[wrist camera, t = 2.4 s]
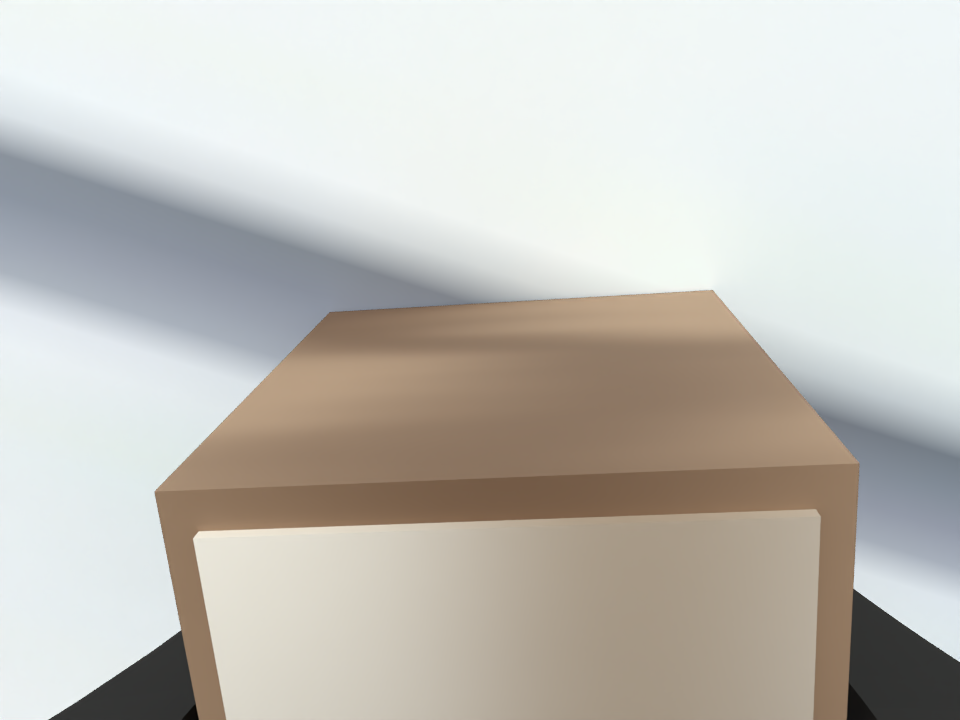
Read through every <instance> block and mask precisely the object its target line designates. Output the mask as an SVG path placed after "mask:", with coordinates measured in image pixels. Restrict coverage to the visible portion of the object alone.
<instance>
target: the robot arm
mask: <svg viewBox="0 0 960 720" xmlns="http://www.w3.org/2000/svg"><path fill="white" fill-rule="evenodd" d="M49 720H199V718H198V712H197V707H196V702H195V697H194V692H193V687H192V682H191V677H190V671H189V666H188V661H187V656H186V651H185V646H184V641H183V636H182V630H181V631H180V632H178V633H177V634H176V635H174V636H173V637H171V638H170V639H169V640H167V641H166V642H165V643H163V644H162V645H161V646H159V647H158V648H156V649H155V650H154V651H152V652H151V653H149V654H148V655H146V656H145V657H143V658H142V659H140V660H139V661H137V662H136V663H134V664H133V665H131V666H130V667H128V668H127V669H125V670H124V671H122V672H121V673H119V674H118V675H116V676H115V677H113V678H112V679H110V680H109V681H107V682H106V683H104V684H103V685H101V686H100V687H99V688H97V689H96V690H94V691H93V692H91V693H90V694H88V695H87V696H85V697H84V698H82V699H81V700H79V701H78V702H76V703H75V704H73V705H71V706H70V707H68V708H67V709H65V710H63V711H62V712H60V713H59V714H57V715H55V716H54V717H52V718H50V719H49ZM847 720H960V662H959V661H957V660H956V659H954V658H953V657H951V656H949V655H948V654H946V653H945V652H943V651H942V650H940V649H939V648H937V647H936V646H934V645H933V644H931V643H930V642H928V641H927V640H925V639H924V638H922V637H921V636H919V635H918V634H916V633H915V632H913V631H912V630H910V629H909V628H908V627H906V626H905V625H903V624H902V623H900V622H899V621H898V620H896V619H895V618H893V617H892V616H890V615H889V614H888V613H886V612H885V611H883V610H882V609H881V608H879V607H878V606H876V605H875V604H874V603H872V602H871V601H869V600H868V599H867V598H865V597H864V596H862V595H861V594H860V593H858V592H857V591H856V590H854V589H853V602H852V623H851V643H850V663H849V683H848V703H847Z"/></svg>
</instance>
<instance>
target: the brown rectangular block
mask: <svg viewBox="0 0 960 720" xmlns="http://www.w3.org/2000/svg"><path fill="white" fill-rule="evenodd" d="M858 482H859V462H858V461H857V460H856V459H855V458H854V456H853V455H852V454H851V453H850V452H849V450H848V449H847V448H846V447H845V446H844V445H843V443H842V442H841V441H840V440H839V439H838V437H837V436H836V435H835V434H834V433H833V432H832V430H831V429H830V428H829V427H828V426H827V425H826V423H825V422H824V421H823V420H822V419H821V417H820V416H819V415H818V414H817V413H816V412H815V410H814V409H813V408H812V407H811V406H810V404H809V403H808V402H807V401H806V400H805V399H804V397H803V396H802V395H801V394H800V393H799V391H798V390H797V389H796V388H795V387H794V386H793V384H792V383H791V382H790V381H789V380H788V378H787V377H786V376H785V375H784V374H783V373H782V371H781V370H780V369H779V368H778V367H777V366H776V364H775V363H774V362H773V361H772V360H771V358H770V357H769V356H768V355H767V354H766V353H765V351H764V350H763V349H762V348H761V347H760V345H759V344H758V343H757V342H756V341H755V340H754V338H753V337H752V336H751V335H750V334H749V332H748V331H747V330H746V329H745V328H744V327H743V325H742V324H741V323H740V322H739V321H738V319H737V318H736V317H735V316H734V315H733V314H732V312H731V311H730V310H729V309H728V308H727V306H726V305H725V304H724V303H723V302H722V301H721V299H720V298H719V297H718V296H717V295H716V294H715V292H714V291H713V290H708V291H690V292H673V293H656V294H638V295H621V296H604V297H586V298H569V299H551V300H534V301H517V302H499V303H482V304H465V305H447V306H430V307H412V308H395V309H378V310H360V311H343V312H330V313H329V314H328V315H327V316H326V317H325V318H324V319H323V320H322V321H321V322H320V323H319V324H318V325H317V326H316V327H315V328H314V329H313V330H312V331H311V332H310V333H309V334H308V335H307V336H306V337H305V338H304V339H303V340H302V341H301V342H300V343H299V344H298V345H297V346H296V347H295V348H294V349H293V350H292V351H291V352H290V353H289V355H288V356H287V357H286V358H285V359H284V360H283V361H282V362H281V363H280V364H279V365H278V366H277V367H276V368H275V369H274V370H273V371H272V372H271V373H270V374H269V375H268V376H267V377H266V378H265V379H264V380H263V381H262V382H261V383H260V384H259V385H258V386H257V387H256V388H255V389H254V390H253V391H252V392H251V393H250V394H249V395H248V396H247V397H246V399H245V400H244V401H243V402H242V403H241V404H240V405H239V406H238V407H237V408H236V409H235V410H234V411H233V412H232V413H231V414H230V415H229V416H228V417H227V418H226V419H225V420H224V421H223V422H222V423H221V424H220V425H219V426H218V427H217V428H216V429H215V430H214V431H213V432H212V433H211V434H210V435H209V436H208V437H207V438H206V439H205V440H204V441H203V442H202V444H201V445H200V446H199V447H198V448H197V449H196V450H195V451H194V452H193V453H192V454H191V455H190V456H189V457H188V458H187V459H186V460H185V461H184V462H183V463H182V464H181V465H180V466H179V467H178V468H177V469H176V470H175V471H174V472H173V473H172V474H171V475H170V476H169V477H168V478H167V479H166V480H165V481H164V482H163V483H162V484H161V485H160V486H159V488H158V489H157V490H156V491H155V497H156V502H157V507H158V512H159V518H160V523H161V528H162V533H163V538H164V543H165V548H166V553H167V559H168V564H169V569H170V574H171V579H172V584H173V589H174V594H175V600H176V605H177V610H178V615H179V620H180V625H181V630H182V636H183V641H184V646H185V651H186V656H187V661H188V666H189V671H190V677H191V682H192V687H193V692H194V697H195V702H196V707H197V712H198V718H199V720H847V703H848V683H849V663H850V643H851V623H852V602H853V582H854V562H855V542H856V522H857V502H858Z"/></svg>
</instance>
